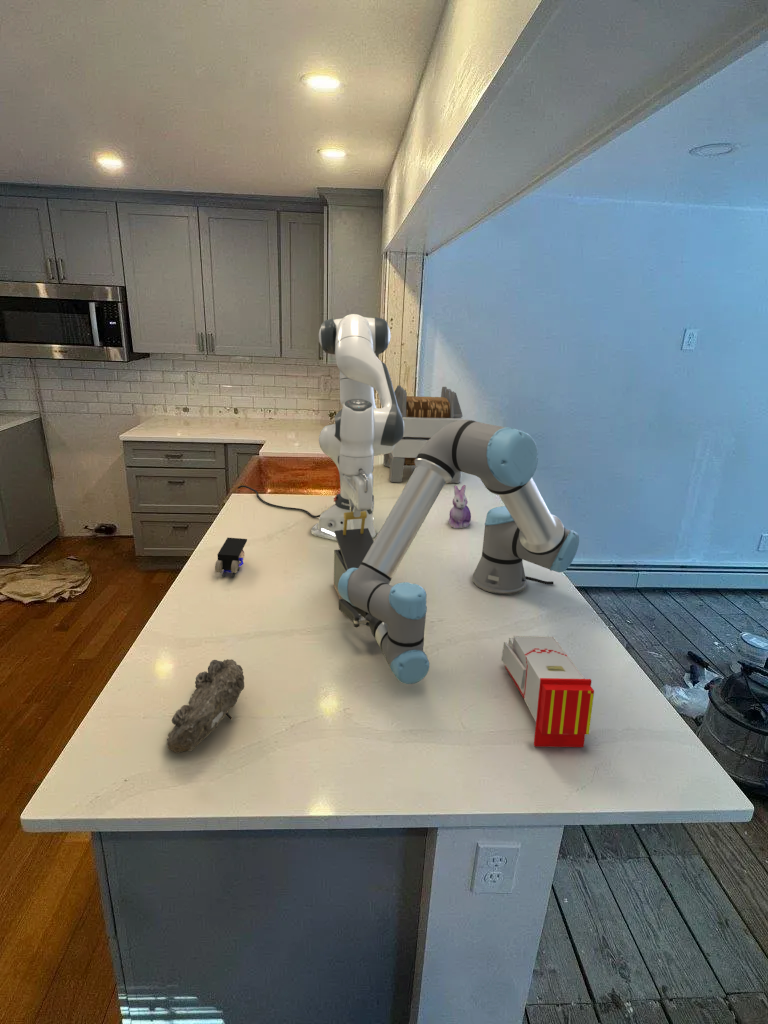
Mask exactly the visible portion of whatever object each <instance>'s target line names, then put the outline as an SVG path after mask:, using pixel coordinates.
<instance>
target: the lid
mask: <svg viewBox="0 0 768 1024" xmlns="http://www.w3.org/2000/svg"><path fill="white" fill-rule="evenodd" d="M365 518H367V513H366V511H361V516H360V517H354V515H353V512H344V528H343V530H337V531H334V534H335V537H336V539H337V541H336V543H337V545H338V548H339V550H340V551H341V554H342V557H343V560H344V563H345V566H346V568H347V570H348V569H350V568H359V566H360V565H361V563H362V561H363V560H364V558H365V556H366V554H367V553H368V551H369V549H370V547H371V545H372V544H373V542H374V538H372V536H371V534H370V532H369V529H368V528H364V524H365ZM349 519H362V523H361V529H351V530H346V529H347V520H349Z"/></svg>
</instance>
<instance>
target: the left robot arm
mask: <svg viewBox="0 0 768 1024" xmlns="http://www.w3.org/2000/svg"><path fill="white" fill-rule="evenodd" d="M391 337H392V334H391V329H390V326H389V324H388V321H387V320H386V319H385V318H381V317H376V316H375V317H368V316H367V317H366V316H362V315H360V314H358V313H357V314H356V313H350V314H347V315H345V316H343V317H342V318H336V319H334V318H329V319H326V320H324V321H323V322H322V323H321V324H320V328H319V331H318V342H319V345H320V347H321V349H322V351H323V352H324V353H326V354H328V355H333V356H334V355H335V356H334V358H335V363H336V366H337V369H338V370H339V379H338V380H339V402H340V405H341V406H342V407H341V409H340V410H339V411H338V412H337V413H336V414H335V415H334V423H332V424H328V425H325V426H324V427H322V429H321V431H320V432H319V435H318V444H319V447H320V449H321V451H322V452H323V454H325V455H326V456H327V457H329V458H330V459H331V460H332V462H333V463H334V464H335V466H336V467H337V470H338V474H339V483H340V484H339V485H340V488H339V489H340V490H339V491H338V492H337V494H336V495H335V496H334V497H333V502H334V504H333V505H331V506H329V507H328V508H326V509H325V510H323V512H321V513H320V514H318V515H313V514H311V513H310V511H308V510H306V509H304V508H300V507H299V508H298V507H289V506H283V505H278V504H274V503H270V502H268V501H265V500H264V499H263V498H261V497H260V495H259V492H258V491H257V490H256V489H255V488H253V487H250V486H247V485H245V484H244V485H239V486H238V487H237V489H238V490H239V489H241V488H246V489H249V490H250V491H252V492H254V493H255V494H256V497H257V499H258V500H259V501H260V502H262V503H264V504H265V505H268V506H271V507H274V508H278V509H279V508H280V509H285V510H293V511H301V512H304V513H306V514H307V515H308V516H309V517H311V518H314V519H315V518H317V519H318V521H317V523H315V524H314V525H313V526H312V528H311V530H310V533H311V536H315V537H319V538H323V539H326V540H330V541H336V542H337V539H336V537H335V534H334V531H337V530H343V528H344V512H353V515H354V517H360V516H361V511H366V513H367V518H365V524H364V528H368V529H369V532H370V534H371V536H372V539H374V538H376V536H377V532H376V528H375V523H374V519H375V518H374V513H373V512H374V509H375V496H374V474H373V472H374V463H375V457H378V456H382V455H383V456H384V454H387V453H391V452H392V450H393V449H394V447H395V445H396V443H398V442H399V441H400V440H401V439H402V438H403V434H404V421H403V418H402V414H401V412H400V409H399V407H398V404H397V400H396V397H395V393H394V392H395V390H394V386H393V381H392V378H391V375H390V372H389V370H388V366H387V364H386V363H385V362H383V361H382V360H380V359H379V355H381V354H383V353H384V352H385V351H386V350H387V349H388V347H389V344H390V342H391ZM375 391H376V392H377V395H378V399H379V402H380V406H381V407H377V405H376V401H375V400H376V399H375ZM361 523H362V519H349V520H347V529H346V530H351V529H361Z"/></svg>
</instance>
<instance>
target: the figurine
mask: <svg viewBox="0 0 768 1024" xmlns="http://www.w3.org/2000/svg"><path fill="white" fill-rule="evenodd" d="M466 489H467V485H465V484H463V485H462V486H461V488H460V489H459V488H458V486H457V485H454V486H453V491H454V492H453V493H454V496H453V498H452V505H453V506H452V508H450V510H449V515H448V516H449V518H448V524H449V526H450V527H451V528H454V529H462V528H467V527H469V526H470V523H471V519H472V513H471V510H470V508H469V507H468V503H469V502H468V498H467V496H466Z"/></svg>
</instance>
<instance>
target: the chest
mask: <svg viewBox="0 0 768 1024" xmlns="http://www.w3.org/2000/svg"><path fill="white" fill-rule="evenodd" d="M333 552H334V553H333V555H334V556H333V588H334V590H335V592H336V594H337V596H338V599H342V597H341V596H340V594H339V592H338V583H339V579H340V577H341V576H342V574H343V573H345V572H346V571H347V568H346V566H345V563H344V560H343V557H342V554H341V551H340V549H334V550H333Z"/></svg>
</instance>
